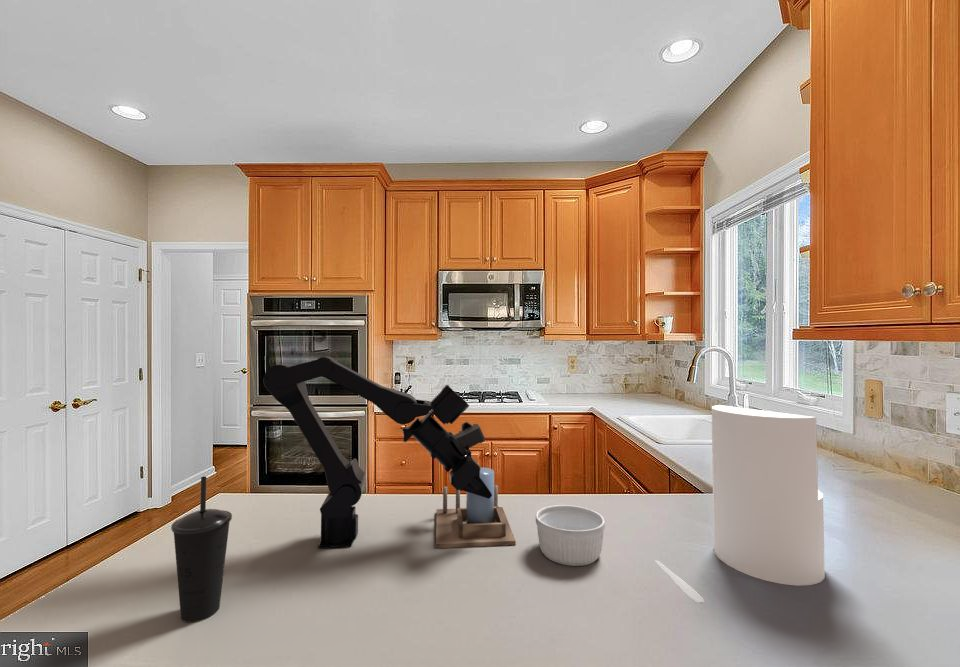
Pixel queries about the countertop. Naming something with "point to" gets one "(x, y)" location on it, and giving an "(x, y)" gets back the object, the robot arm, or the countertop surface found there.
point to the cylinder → (767, 495)
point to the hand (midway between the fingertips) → (486, 489)
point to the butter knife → (682, 584)
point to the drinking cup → (200, 559)
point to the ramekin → (570, 534)
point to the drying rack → (471, 527)
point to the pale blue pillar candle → (481, 501)
